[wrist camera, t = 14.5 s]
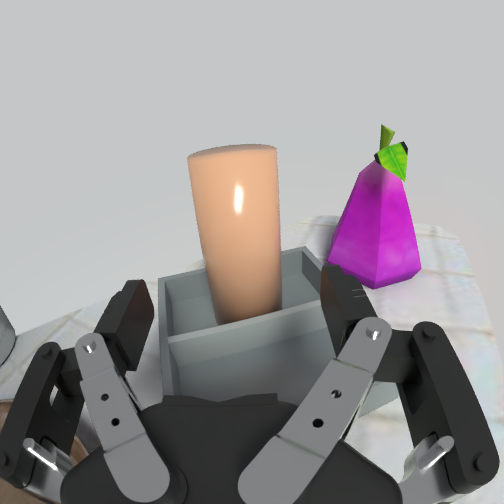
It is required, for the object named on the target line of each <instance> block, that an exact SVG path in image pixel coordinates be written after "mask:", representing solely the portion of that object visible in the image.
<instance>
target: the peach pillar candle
mask: <svg viewBox="0 0 504 504" xmlns="http://www.w3.org/2000/svg"><path fill="white" fill-rule="evenodd" d="M187 161H188V168H189V175H190V181H191V187H192V194H193V201H194V206H195V213H196V219H197V225H198V231H199V236H200V242H201V248H202V253H203V259H204V264H205V269H206V275H207V280H208V285H209V290H210V295H211V300H212V305H213V310H214V315H215V319H216V322H217V324H218V326H221V325H225V324H229V323H233V322H237V321H241V320H245V319H249V318H253V317H257V316H261V315H265V314H269V313H273V312H276V311H280V310H283V308H282V266H281V235H280V211H279V190H278V169H277V152H276V148H275V147H273V146H269V145H261V144H243V145H230V146H222V147H216V148H211V149H206V150H202V151H199V152H196V153H193V154H191V155H190V156H188V157H187Z"/></svg>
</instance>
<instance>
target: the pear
mask: <svg viewBox="0 0 504 504" xmlns="http://www.w3.org/2000/svg"><path fill="white" fill-rule="evenodd" d="M394 133H395V132H394V131H392V130H390V129H389V128H387V127H385V126H383V125H381V140H380V151H379V152H377V153H376V154H375V155H374V157H375V160H374V161H373V162H372V163H370V164H369V165H368V166H367V167H366V168H365V169H363V170H362V171H361V172H360V173H359V175H358V178H357V180H356V183H355V185H354V188H353V190H352V193H351V195H350V197H349V200H348V202H347V205H346V207H345V209H344V211H343V214H342V216H341V218H340V221H339V223H338V225H337V227H336V230H335V232H334V234H333V238H332V243H331V247H330V252H329V256H328V260H327V261H328V262H329V264H330V265H336V264H339V265H340V267H341V269H342V271H343V273H344V275H349V274H351V275H353V276H354V277H355V278H357V279H358V280H359V281H360V283H361V284H363V285H365V286H367V287H369V288H371V289H377V288H381V287H384V286H388V285H391V284H395V283H398V282H401V281H405V280H408V279H411V278H412V277H413V276H414V275H415V274H416V273H417V272H419V271H420V270H421V263H420V257H419V252H418V246H417V241H416V236H415V232H414V227H413V223H412V218H411V214H410V210H409V206H408V202H407V198H406V195H405V191H404V187H403V184H402V181H401V179H402V180H403V181H405V178H406V167H407V166H406V165H407V153H408V148H407V146H406V144H405V143H404V142H400V143H397V144H394V145H391V146H389V144H390V142H391V140H392V138H393V135H394Z"/></svg>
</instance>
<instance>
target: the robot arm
mask: <svg viewBox="0 0 504 504" xmlns="http://www.w3.org/2000/svg"><path fill="white" fill-rule="evenodd" d="M320 301H321V307H322V311H323V314H324V317H325V321H326V324H327V327H328V331H329V334H330V337H331V341H332V344H333V348H334V351H335V355H336V358H332V359H331V361H330V362H329V363H328V365H327V366H326V368H325V369H324V371H323V373H322V374H321V376H320V377H319V379H318V380H317V382H316V383H315V384H314V386H313V387H312V389H311V390H310V392H309V393H308V395H307V396H306V397H305V399H304V400H303V402H302V403H301V404H300V406H297V405H294V404H292V403H288V402H284V401H278V398H277V393H268V394H253V395H245V396H241V397H238V398H234V399H229V400H225V401H221V402H215V401H210V400H206V399H201V398H197V397H193V396H179V395H164V396H163V401H162V403H159V404H155V405H152V406H150V407H148V408H146V409H144V410H143V408H142V406H141V405H140V403H139V401H138V399H137V397H136V395H135V393H134V391H133V390H132V388H131V386H130V384H129V382H128V380H127V378H126V376H125V374H126V371H136V370H137V367H138V364H139V360H140V357H141V354H142V351H143V348H144V345H145V342H146V339H147V336H148V333H149V330H150V327H151V325H152V322H153V319H154V306H153V303H152V300H151V298H150V295H149V292H148V289H147V286H146V283H145V281H144V280H142V279H141V280H128V281H127V282H126V284H125V286H124V287H123V289H122V291H119V292H117V293H116V294H115V295H114V296H113V297H112V298H111V300H110V302H109V303H108V305H107V307H106V309H105V311H104V313H103V315H102V316H101V318H100V320H99V322H98V324H97V326H96V328H95V330H94V332H93V333H89V334H86V335H84V336H83V337H81V338H80V339H79V340H78V341H77V343H76V345H75V347H74V348H69V349H64V350H61V348H60V346H59V345H58V344H57V343H56V342H48V343H45V344H44V345H42V346H41V347H40V348H39V349H38V350H37V352H36V354H35V355H34V357H33V359H32V361H31V363H30V365H29V367H28V369H27V371H26V374H25V376H24V378H23V380H22V382H21V384H20V386H19V389H18V391H17V393H16V395H15V398H14V400H13V402H12V405H11V407H10V410H9V412H8V415H7V417H6V420H5V422H4V425H3V428H2V430H1V433H0V478H2V479H3V480H5V481H7V482H8V483H10V484H11V485H12V486H13V487H15V488H17V489H18V490H20V491H22V492H24V493H25V494H27V495H29V496H31V497H33V498H36V499H38V500H40V501H42V502H44V503H46V504H55V503H57V504H450V503H452V502H454V501H456V500H458V499H460V498H462V497H464V496H466V495H467V494H469V493H471V492H473V491H475V490H476V489H478V488H480V487H482V486H483V485H485V484H487V483H488V482H490V481H491V480H492V479H493V478H494V477H495V475H496V473H497V471H498V469H499V462H500V461H499V455H498V452H497V449H496V446H495V443H494V440H493V437H492V435H491V432H490V429H489V427H488V424H487V421H486V419H485V416H484V414H483V411H482V409H481V406H480V404H479V402H478V399H477V397H476V395H475V392H474V390H473V388H472V386H471V384H470V381H469V379H468V377H467V375H466V373H465V371H464V369H463V367H462V365H461V363H460V361H459V359H458V357H457V355H456V353H455V351H454V349H453V347H452V345H451V343H450V341H449V340H448V338H447V336H446V334H445V332H444V331H443V329H442V328H441V327H440V326H439V325H437V324H435V323H433V322H427V321H424V322H420V323H418V324H416V325H415V326H414V328H413V331H401V330H394V329H392V328H391V326H390V325H389V324H388V323H387V322H386V321H385V320H383V319H381V318H378V317H377V315H376V312H375V310H374V308H373V306H372V304H371V302H370V301H369V299H368V297H367V296H366V293H365V291H364V290H363V287H362V285H361V283H360V281H359V280H358V279H357V278H355V277H354V276H353V275H351V274H349V275H344V273H343V271H342V269H341V267H340V265H339V264H336V265H326V266H322V269H321V288H320ZM14 342H15V330H14V328H13V327H12V325H11V323H10V322H9V320H8V318H7V317H6V315H5V313H4V311H3V310H2V308H1V306H0V365H1V364H2V363H3V362H4V361H5V359H6V358H7V356H8V355H9V353H10V352H11V349H12V347H13V345H14ZM375 381H378V382H391V383H396V386H397V389H398V392H399V396H400V399H401V402H402V406H403V409H404V413H405V416H406V420H407V423H408V427H409V431H410V434H411V438H412V442H413V446H414V450H413V451H412V452H411V453H410V454H409V455H408V456H407V458H406V460H405V463H404V476H403V479H402V481H401V482H400V483H399V484H397V482H396V481H395V480H394V479H393V477H391V476H390V475H389V474H388V473H386V472H385V471H383V470H382V469H381V468H379V467H378V466H377V465H375V464H374V463H372V462H371V461H370V460H368V459H367V458H366V457H364V456H363V455H362V454H360V453H359V452H358V451H357V450H355V449H354V448H353V447H351V446H350V445H349V444H347V443H346V442H345V440H346V438H347V436H348V434H349V433H350V431H351V429H352V427H353V425H354V423H355V421H356V419H357V417H358V415H359V413H360V411H361V409H362V407H363V405H364V403H365V401H366V399H367V397H368V395H369V393H370V391H371V389H372V387H373V385H374V383H375ZM54 385H55V386H56V387H57V389H58V391H57V394H56V397H55V399H54V402H53V405H52V407H51V405H50V395H51V392H52V390H53V387H54ZM84 402H86V405H87V408H88V410H89V413H90V416H91V419H92V421H93V424H94V427H95V429H96V432H97V434H98V437H99V439H100V442H101V445H100V446H99V447H98V448H96V449H95V450H94V451H93V452H92V453H90V454H89V455H88V456H87V457H85V458H84V459H83V460H82V461H80V462H79V463H78V464H77V465H76V466H74V467H73V468H72V462H71V460H70V458H69V457H70V452H71V448H72V444H73V440H74V437H75V433H76V429H77V426H78V422H79V419H80V415H81V412H82V408H83V405H84Z"/></svg>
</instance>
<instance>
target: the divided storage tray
mask: <svg viewBox="0 0 504 504" xmlns="http://www.w3.org/2000/svg"><path fill="white" fill-rule="evenodd" d="M281 266H282V308H283V310H280V311H276V312H273V313H269V314H265V315H261V316H257V317H253V318H249V319H245V320H241V321H237V322H233V323H229V324H225V325H221V326H218V324H217V322H216V319H215V315H214V310H213V305H212V300H211V295H210V290H209V285H208V280H207V275H206V269H205V268H204V269H200V270H195V271H190V272H186V273H181V274H177V275H172V276H167V277H163V278H158V317H159V341H160V358H161V372H162V384H163V395H179V396H193V397H197V398H201V399H206V400H210V401H215V402H221V401H225V400H229V399H234V398H238V397H241V396H245V395H253V394H268V393H277V398H278V401H284V402H288V403H292V404H294V405H297V406H300V404H301V403H302V402H303V400H304V399H305V397H306V396H307V395H308V393H309V392H310V390H311V389H312V387H313V386H314V384H315V383H316V382H317V380H318V379H319V377H320V376H321V374H322V373H323V371H324V369H325V368H326V366H327V365H328V363H329V362H330V361H331V359H332V358H336V355H335V351H334V348H333V344H332V341H331V337H330V334H329V331H328V327H327V324H326V321H325V317H324V314H323V311H322V307H321V301H320V288H321V269H322V266H323V264H322V263H321V262H320V261H319V260H318V259H317V258H316V257H315V256H314V255H313V254H312V253H311V252H310V251H309V250H308V248H307V247H306V246H304V247H299V248H295V249H290V250H286V251H281ZM398 396H399V392H398V389H397V386H396V383H391V382H378V381H375V383H374V385H373V387H372V389H371V391H370V393H369V395H368V397H367V399H366V401H365V403H364V405H363V407H362V409H361V411H360V413H359V415H358V417H360V416H363V415H365V414H367V413H369V412H371V411H373V410H375V409H377V408H379V407H381V406H383V405H385V404H387V403H389V402H391V401H393V400H394V399H396V398H397V397H398ZM358 417H357V418H358Z"/></svg>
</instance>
